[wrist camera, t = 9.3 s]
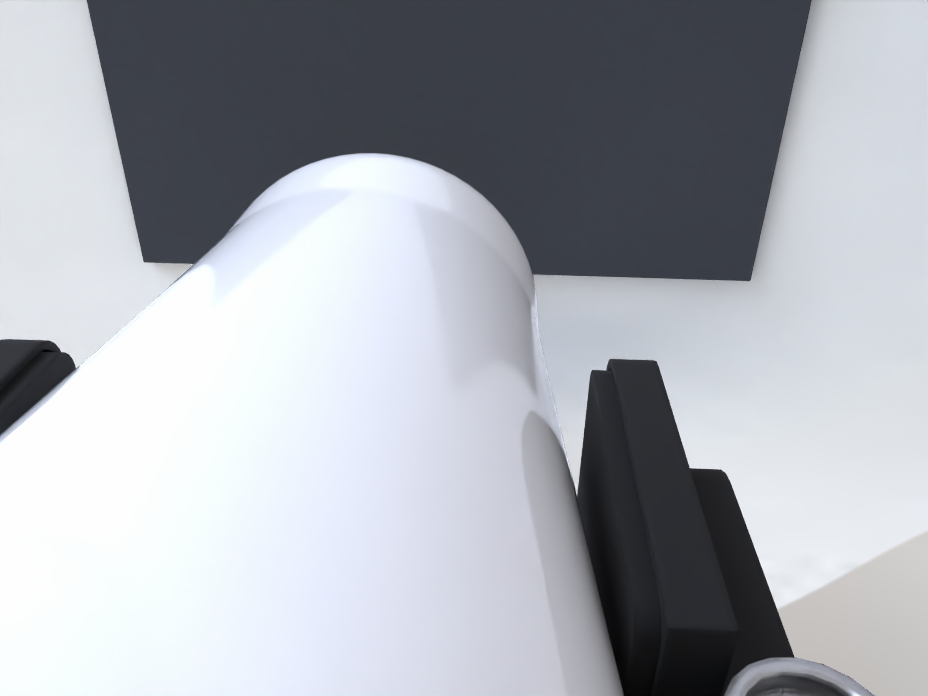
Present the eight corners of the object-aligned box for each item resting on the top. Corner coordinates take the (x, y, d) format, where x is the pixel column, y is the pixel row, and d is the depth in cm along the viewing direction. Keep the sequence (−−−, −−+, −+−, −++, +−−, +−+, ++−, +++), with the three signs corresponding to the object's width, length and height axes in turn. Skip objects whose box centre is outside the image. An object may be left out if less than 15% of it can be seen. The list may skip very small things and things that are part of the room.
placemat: (65, -118, 23) (60, -118, 23) (831, -109, 22) (835, -109, 22) (146, 259, 29) (143, 262, 29) (748, 277, 28) (750, 281, 28)
